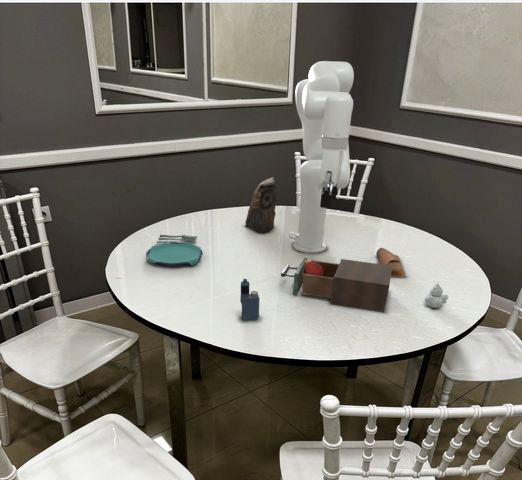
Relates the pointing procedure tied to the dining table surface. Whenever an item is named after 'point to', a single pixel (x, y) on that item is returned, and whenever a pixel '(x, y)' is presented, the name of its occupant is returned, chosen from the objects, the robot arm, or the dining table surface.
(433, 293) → the grey lumpy piece
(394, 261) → the sunglasses case
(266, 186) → the owl
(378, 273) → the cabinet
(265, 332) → the dining table surface
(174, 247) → the cutlery set
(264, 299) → the dining table surface
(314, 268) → the onion
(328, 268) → the drawer
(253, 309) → the vaping device
